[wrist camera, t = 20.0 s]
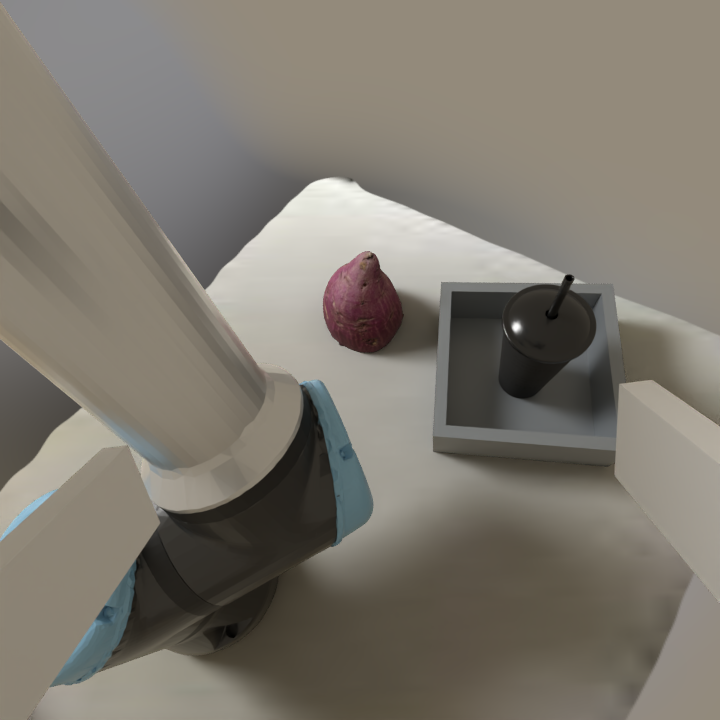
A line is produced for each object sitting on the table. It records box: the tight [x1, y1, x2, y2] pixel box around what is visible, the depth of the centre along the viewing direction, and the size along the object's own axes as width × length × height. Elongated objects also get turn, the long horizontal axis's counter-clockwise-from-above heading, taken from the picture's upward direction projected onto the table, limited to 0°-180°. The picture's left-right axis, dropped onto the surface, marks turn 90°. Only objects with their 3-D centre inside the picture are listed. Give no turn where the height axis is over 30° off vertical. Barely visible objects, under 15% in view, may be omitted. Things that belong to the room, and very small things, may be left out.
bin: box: [433, 282, 626, 466], centre depth 47 cm, size 18×18×7 cm
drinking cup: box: [498, 275, 597, 399], centre depth 40 cm, size 8×8×20 cm
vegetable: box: [323, 251, 404, 353], centre depth 51 cm, size 10×10×15 cm
